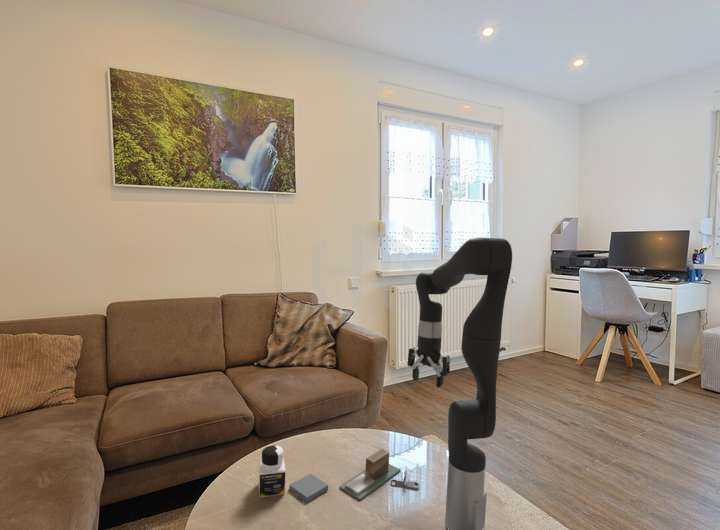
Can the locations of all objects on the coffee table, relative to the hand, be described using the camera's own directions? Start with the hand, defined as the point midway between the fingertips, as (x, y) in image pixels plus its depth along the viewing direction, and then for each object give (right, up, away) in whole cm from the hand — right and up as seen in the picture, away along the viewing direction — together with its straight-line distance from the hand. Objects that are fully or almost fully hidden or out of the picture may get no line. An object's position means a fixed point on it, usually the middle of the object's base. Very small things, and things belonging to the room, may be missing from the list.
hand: (427, 383), depth 127 cm
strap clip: (-8, -29, -8) cm, 31 cm away
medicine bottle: (-48, -27, -13) cm, 56 cm away
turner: (-19, -27, -7) cm, 34 cm away
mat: (-18, -28, -6) cm, 34 cm away
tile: (-34, -27, -9) cm, 44 cm away
